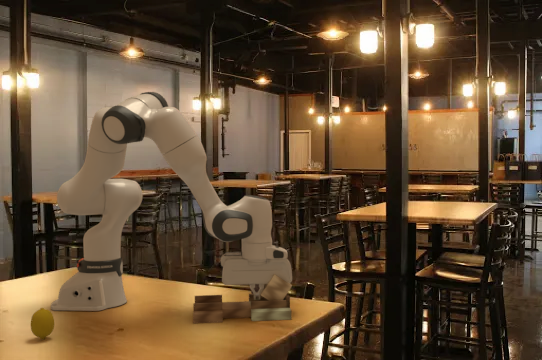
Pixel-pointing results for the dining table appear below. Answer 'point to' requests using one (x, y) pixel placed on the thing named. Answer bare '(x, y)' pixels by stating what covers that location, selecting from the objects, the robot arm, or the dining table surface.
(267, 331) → the dining table surface
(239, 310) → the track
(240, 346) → the dining table surface
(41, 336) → the lemon
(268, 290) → the block
